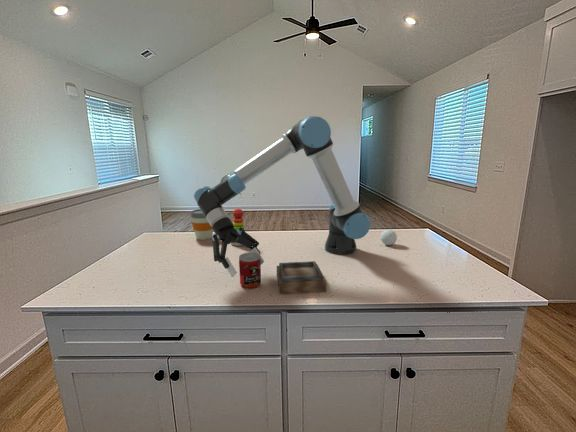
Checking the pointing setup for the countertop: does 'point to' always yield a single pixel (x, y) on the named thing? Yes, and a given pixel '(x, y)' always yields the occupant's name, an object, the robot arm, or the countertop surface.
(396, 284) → the countertop surface
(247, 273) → the canned food
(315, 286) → the square wooden tray
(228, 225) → the robot arm
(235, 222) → the stacking toy
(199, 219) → the reusable coffee cup
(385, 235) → the ball
